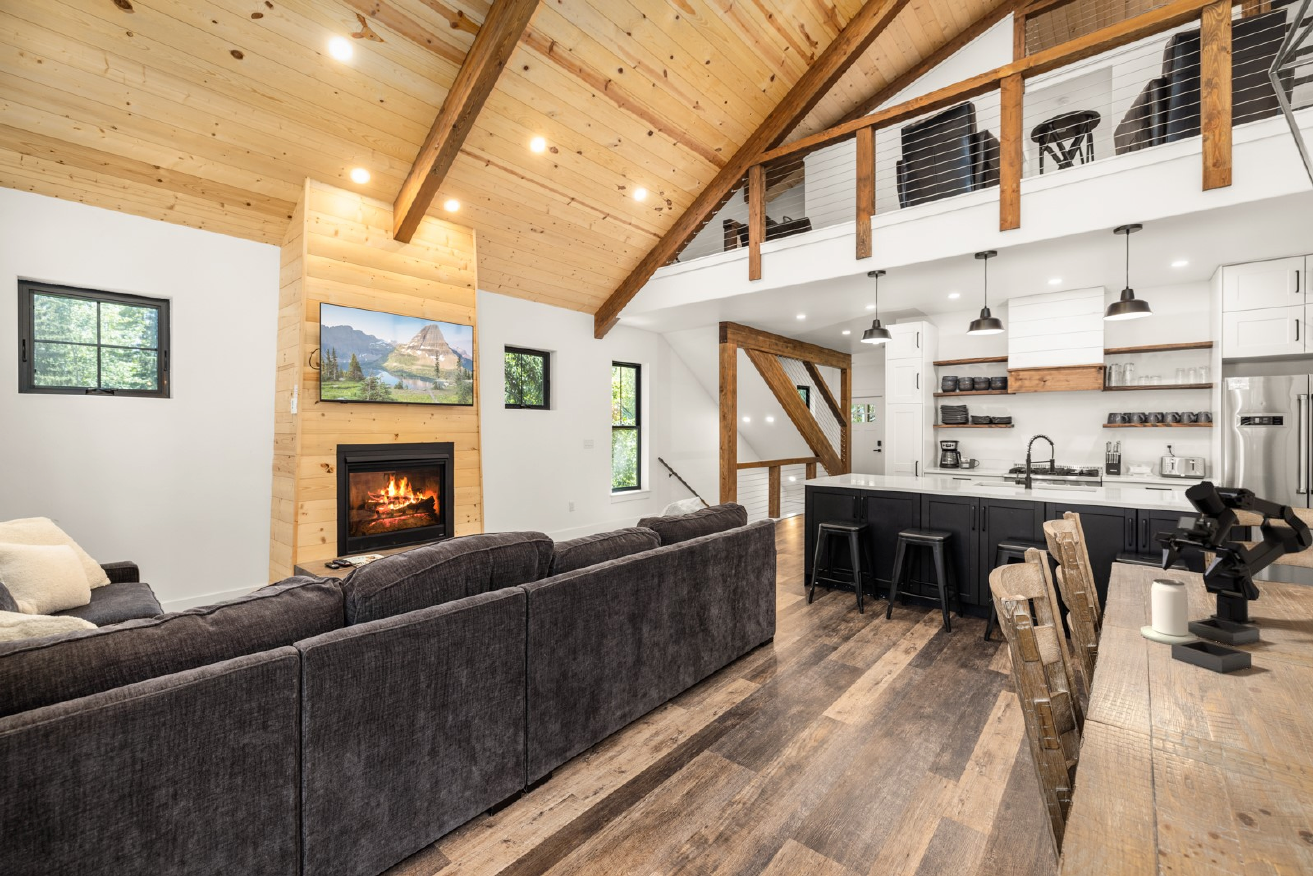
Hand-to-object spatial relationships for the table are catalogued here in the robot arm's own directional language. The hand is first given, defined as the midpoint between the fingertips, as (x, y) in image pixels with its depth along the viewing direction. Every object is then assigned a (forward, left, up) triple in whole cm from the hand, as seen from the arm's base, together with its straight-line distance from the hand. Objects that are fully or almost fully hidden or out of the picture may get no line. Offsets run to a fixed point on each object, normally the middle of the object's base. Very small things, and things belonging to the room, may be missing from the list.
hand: (1184, 573), depth 146 cm
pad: (+13, +4, -14) cm, 19 cm away
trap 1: (+21, +17, -14) cm, 30 cm away
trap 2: (+1, +8, -14) cm, 16 cm away
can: (+12, +4, -12) cm, 18 cm away
